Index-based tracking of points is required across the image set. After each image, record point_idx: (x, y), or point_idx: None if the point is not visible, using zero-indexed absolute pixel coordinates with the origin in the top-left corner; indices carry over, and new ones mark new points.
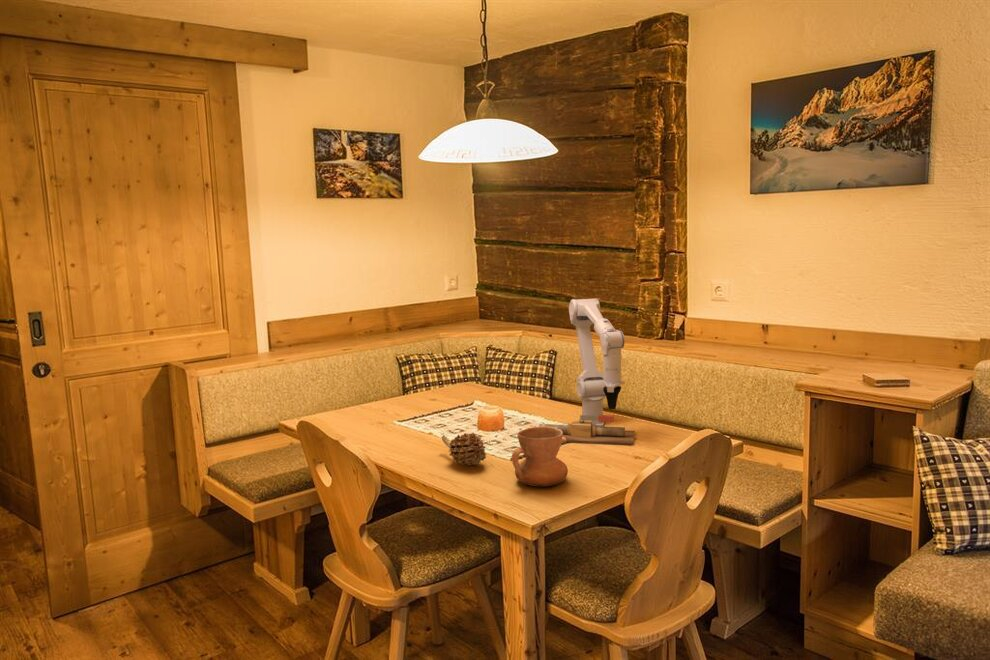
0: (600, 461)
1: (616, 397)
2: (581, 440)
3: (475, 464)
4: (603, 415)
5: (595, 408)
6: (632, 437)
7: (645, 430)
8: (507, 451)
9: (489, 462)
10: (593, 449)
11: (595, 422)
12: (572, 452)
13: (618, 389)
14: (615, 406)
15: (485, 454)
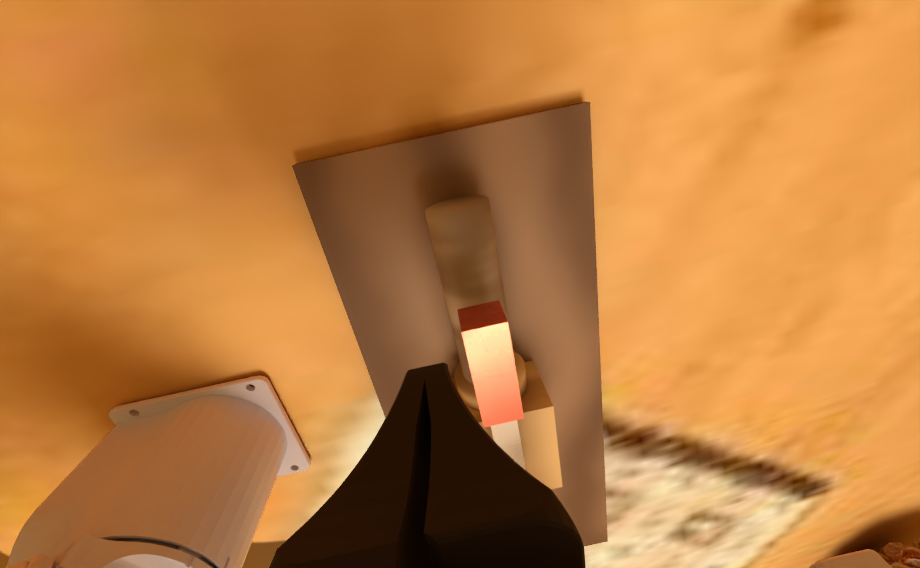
0: (873, 208)
1: (494, 446)
2: (594, 379)
3: (913, 543)
4: (486, 398)
5: (231, 497)
6: (462, 141)
7: (186, 103)
8: (730, 530)
9: (841, 526)
10: (683, 294)
11: (266, 421)
12: (734, 360)
13: (504, 556)
14: (449, 376)
15: (915, 560)
